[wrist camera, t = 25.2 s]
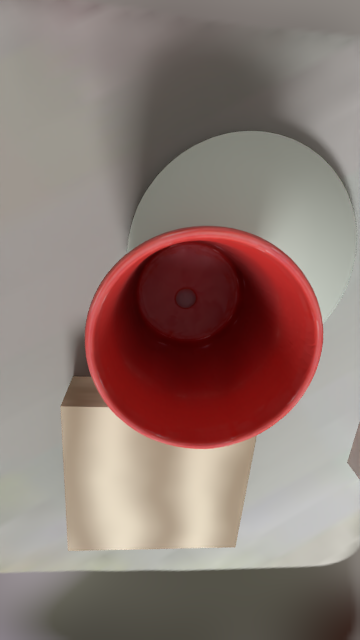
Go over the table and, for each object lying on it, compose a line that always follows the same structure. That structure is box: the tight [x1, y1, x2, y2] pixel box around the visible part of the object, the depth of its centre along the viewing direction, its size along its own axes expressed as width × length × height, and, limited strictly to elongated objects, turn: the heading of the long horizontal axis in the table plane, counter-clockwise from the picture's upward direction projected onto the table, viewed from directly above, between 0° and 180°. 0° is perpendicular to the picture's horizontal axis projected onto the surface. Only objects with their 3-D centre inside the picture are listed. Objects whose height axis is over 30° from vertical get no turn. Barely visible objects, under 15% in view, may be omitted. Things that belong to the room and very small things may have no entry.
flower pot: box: [85, 226, 323, 449], centre depth 20 cm, size 11×11×10 cm
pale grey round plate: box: [127, 131, 357, 323], centre depth 24 cm, size 16×16×1 cm
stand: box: [61, 376, 257, 551], centre depth 28 cm, size 14×14×4 cm
